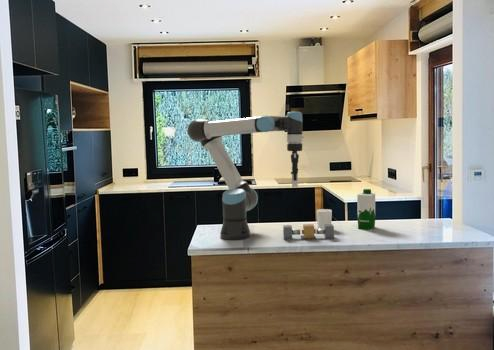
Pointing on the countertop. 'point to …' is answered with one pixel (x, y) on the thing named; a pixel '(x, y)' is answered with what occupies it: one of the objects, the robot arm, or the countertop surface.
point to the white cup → (323, 217)
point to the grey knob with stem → (327, 231)
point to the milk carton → (366, 209)
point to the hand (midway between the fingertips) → (294, 185)
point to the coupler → (308, 231)
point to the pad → (308, 238)
